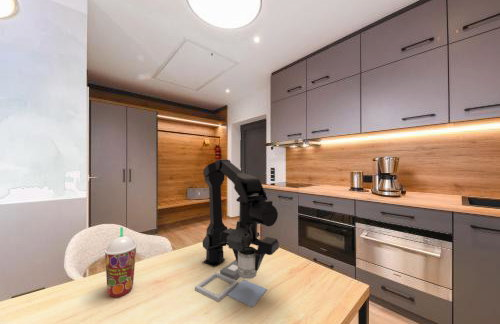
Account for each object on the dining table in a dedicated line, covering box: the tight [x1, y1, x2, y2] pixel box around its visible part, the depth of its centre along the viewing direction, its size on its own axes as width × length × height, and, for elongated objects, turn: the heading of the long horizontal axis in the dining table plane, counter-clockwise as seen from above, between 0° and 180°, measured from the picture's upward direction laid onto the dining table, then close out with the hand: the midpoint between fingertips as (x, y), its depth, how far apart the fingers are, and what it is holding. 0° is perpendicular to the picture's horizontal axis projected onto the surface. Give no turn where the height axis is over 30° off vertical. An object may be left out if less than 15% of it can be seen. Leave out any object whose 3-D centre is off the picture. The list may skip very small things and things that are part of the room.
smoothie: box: [104, 226, 138, 298], centre depth 61 cm, size 8×8×20 cm
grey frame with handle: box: [194, 259, 241, 303], centre depth 72 cm, size 10×29×3 cm, turn 148°
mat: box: [227, 279, 268, 308], centre depth 61 cm, size 9×9×1 cm
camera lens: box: [238, 245, 258, 280], centre depth 61 cm, size 6×6×8 cm
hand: (247, 267), depth 61 cm, fingers closed on camera lens, 6 cm apart
